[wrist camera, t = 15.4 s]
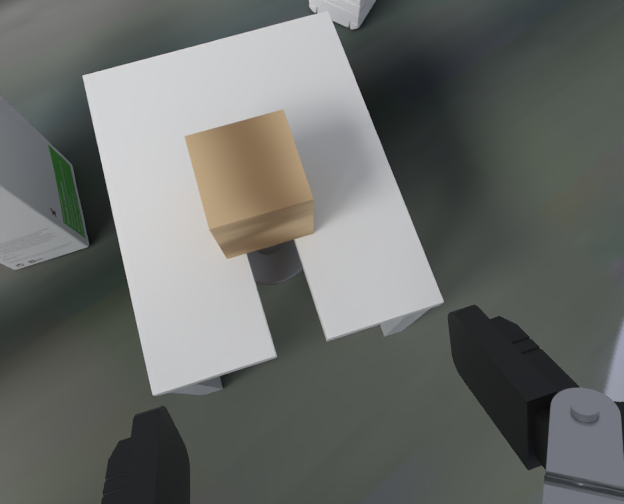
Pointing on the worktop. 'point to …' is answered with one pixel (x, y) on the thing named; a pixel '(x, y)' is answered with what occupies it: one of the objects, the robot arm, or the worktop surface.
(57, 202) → the skincare box
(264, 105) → the white slotted table
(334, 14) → the container set
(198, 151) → the tan block with stem
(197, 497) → the worktop surface
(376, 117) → the worktop surface
